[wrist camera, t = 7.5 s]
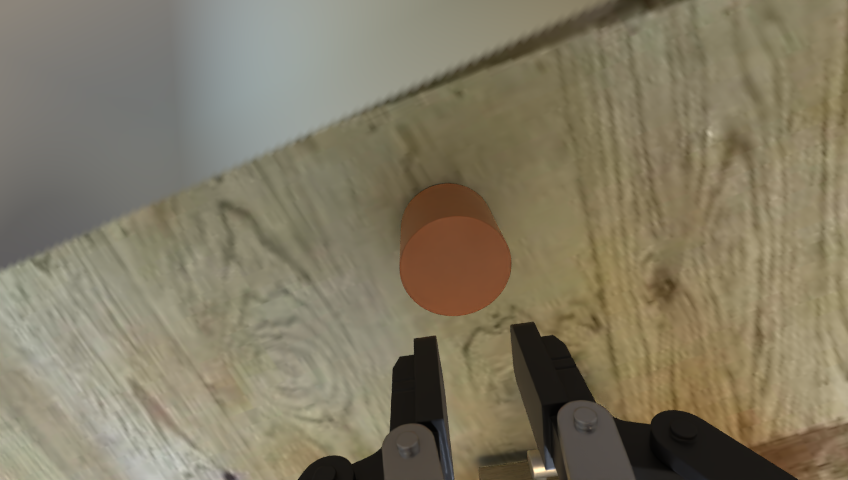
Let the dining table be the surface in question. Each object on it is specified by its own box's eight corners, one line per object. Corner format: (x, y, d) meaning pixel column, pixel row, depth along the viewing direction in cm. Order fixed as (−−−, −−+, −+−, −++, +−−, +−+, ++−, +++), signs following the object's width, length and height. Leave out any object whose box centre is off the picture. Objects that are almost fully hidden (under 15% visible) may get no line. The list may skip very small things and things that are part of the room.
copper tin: (382, 232, 25) (376, 275, 20) (442, 163, 23) (451, 192, 19) (450, 283, 26) (459, 334, 21) (511, 221, 25) (534, 261, 20)
